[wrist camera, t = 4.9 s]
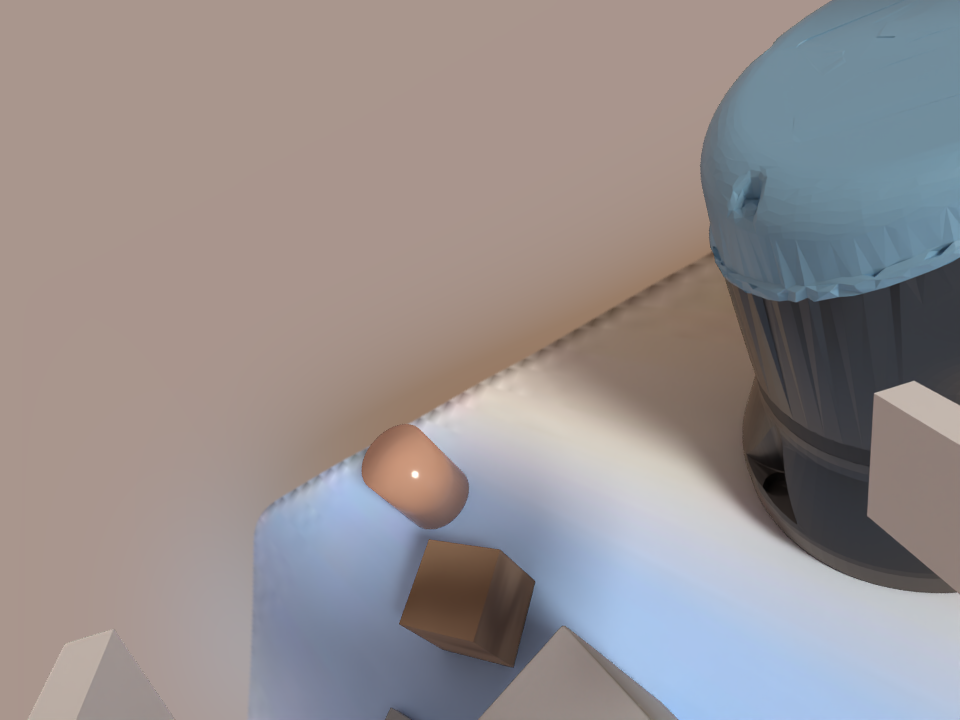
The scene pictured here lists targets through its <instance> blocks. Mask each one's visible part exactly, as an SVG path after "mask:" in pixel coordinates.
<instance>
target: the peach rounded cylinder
mask: <svg viewBox="0 0 960 720" xmlns="http://www.w3.org/2000/svg"><path fill="white" fill-rule="evenodd" d="M362 477H363V480H364V482H365V483H366V485H367V486H368V487H369V488H371V489H372V490H373V491H375V492H376V493H377V494H378V495H380V496H381V497H382V498H383V499H385V500H386V501H387V502H388V503H390V504H391V505H392V506H393V507H395V508H396V509H397V510H398V511H400V512H401V513H402V514H403V515H405V516H406V517H407V518H409V519H410V520H411V521H412V522H414V523H415V524H416V525H417V526H419V527H421V528H423V529H437V528H440V527H443V526H445V525H447V524H448V523H450V522H451V521H452V520H454V519H455V518H456V517H457V516H458V514H459V513H460V512H461V510H462V509H463V507H464V505H465V503H466V501H467V498H468V493H469V484H468V480H467V477H466V476H465V474H464V473H463V472H462V471H461V470H460V469H459V468H458V467H457V466H456V465H455V464H454V463H453V462H452V461H451V460H450V459H449V458H448V457H447V456H446V455H445V454H444V453H443V452H442V451H441V450H440V449H439V448H438V447H437V446H436V445H435V444H434V443H433V442H432V441H431V440H430V439H429V438H428V437H427V436H426V435H425V434H424V433H423V432H422V431H421V430H420V429H419V428H417V427H416V426H413V425H409V424H402V425H397V426H395V427H392V428H390V429H388V430H386V431H385V432H383V433H382V434H381V435H380V436H379V437H377V438H376V440H375V441H374V442H373V443H372V444H371V446H370V447H369V449H368V450H367V452H366V454H365V457H364V459H363V463H362Z"/></svg>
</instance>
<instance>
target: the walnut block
mask: <svg viewBox="0 0 960 720" xmlns="http://www.w3.org/2000/svg"><path fill="white" fill-rule="evenodd" d="M534 585H535V581H534V580H533V579H532V578H531V577H530V576H529V575H528V574H527V573H526V572H524V571H523V570H522V569H521V568H520V567H519V566H518V565H517V564H516V563H514V562H513V561H512V560H511V559H510V558H509V557H508V556H507V555H506V554H504V553H503V552H502V551H501V550H499V549H492V548H485V547H478V546H471V545H464V544H457V543H450V542H443V541H437V540H430V539H429V541H428V543H427V546H426V549H425V552H424V555H423V558H422V560H421V563H420V566H419V569H418V572H417V575H416V577H415V580H414V583H413V586H412V589H411V591H410V594H409V597H408V600H407V603H406V606H405V608H404V611H403V614H402V617H401V620H400V623H399V624H400V625H401V626H403V627H405V628H407V629H408V630H410V631H412V632H413V633H415V634H417V635H419V636H420V637H422V638H424V639H425V640H427V641H429V642H431V643H432V644H434V645H436V646H437V647H439V648H441V649H443V650H446V651H450V652H454V653H458V654H462V655H466V656H470V657H474V658H478V659H482V660H485V661H489V662H493V663H497V664H501V665H505V666H509V667H514V663H515V659H516V655H517V651H518V647H519V644H520V640H521V636H522V632H523V628H524V624H525V620H526V616H527V612H528V608H529V604H530V600H531V596H532V593H533V589H534Z"/></svg>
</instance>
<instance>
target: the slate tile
mask: <svg viewBox="0 0 960 720" xmlns="http://www.w3.org/2000/svg"><path fill="white" fill-rule="evenodd" d="M385 720H412V719H410V718H409V717H407V716H406V715H404V714H403V713H401V712H399V711H398V710H395V709H393V708H390V710H389V712H388V714H387V717H386V719H385Z"/></svg>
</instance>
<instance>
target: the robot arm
mask: <svg viewBox="0 0 960 720" xmlns="http://www.w3.org/2000/svg"><path fill="white" fill-rule="evenodd" d="M700 167H701V182H702V188H703V193H704V197H705V202H706V206H707V210H708V216H709V220H710V228H709V239H710V247H711V250H712V252H713V253H714V258H715V263H716V264H717V266H718V267H719V269H720V271H721V272H722V274H723V276H724V277H725V280H726V284H727V287H728V290H729V293H730V296H731V299H732V303H733V306H734V309H735V312H736V315H737V318H738V322H739V325H740V328H741V331H742V334H743V337H744V341H745V344H746V347H747V350H748V353H749V356H750V360H751V363H752V366H753V369H754V372H755V379H754V382H753V385H752V389H751V392H750V396H749V399H748V403H747V406H746V410H745V414H744V419H743V450H744V456H745V461H746V464H747V468H748V470H749V473H750V476H751V478H752V481H753V484H754V486H755V489H756V492H757V494H758V496H759V498H760V500H761V502H762V504H763V505H764V507H765V509H766V510H767V512H768V513H769V515H770V516H771V518H772V519H773V520H774V521H775V523H776V524H777V525H778V526H779V527H780V528H781V530H782V531H783V532H784V533H785V534H786V535H787V536H788V537H789V538H790V539H792V540H793V541H794V542H795V543H796V544H797V545H799V546H800V547H801V548H802V549H804V550H805V551H806V552H808V553H809V554H811V555H812V556H813V557H815V558H817V559H818V560H820V561H822V562H823V563H825V564H827V565H829V566H831V567H832V568H834V569H836V570H838V571H841V572H843V573H845V574H847V575H850V576H852V577H855V578H858V579H860V580H863V581H866V582H870V583H873V584H876V585H880V586H884V587H888V588H894V589H899V590H905V591H913V592H925V593H955V592H958V593H959V594H960V0H832V1H830V2H828V3H827V4H825V5H824V6H822V7H820V8H819V9H818V10H816V11H814V12H813V13H811V14H810V15H808V16H807V17H805V18H804V19H802V20H801V21H800V22H798V23H797V24H796V25H794V26H793V27H792V28H790V29H789V30H788V31H786V32H785V33H783V34H782V35H781V36H780V37H779V38H777V40H776V41H775V42H774V43H773V45H772V46H771V47H770V48H769V49H768V50H767V51H765V52H764V53H763V54H762V55H761V56H759V57H758V58H757V59H756V60H754V61H753V62H752V63H751V64H750V65H749V66H748V67H747V68H746V69H745V70H744V71H743V73H742V74H741V75H740V76H739V78H738V79H737V80H736V81H735V82H734V83H733V85H732V86H731V88H730V89H729V90H728V92H727V93H726V95H725V96H724V98H723V100H722V101H721V103H720V104H719V106H718V108H717V110H716V112H715V113H714V116H713V118H712V120H711V123H710V124H709V127H708V130H707V133H706V136H705V139H704V143H703V149H702V154H701V164H700ZM28 720H175V719H174V717H173V716H172V714H171V713H170V711H169V710H168V708H167V707H166V705H165V704H164V702H163V701H162V699H161V698H160V696H159V695H158V693H157V692H156V690H155V689H154V688H153V686H152V685H151V683H150V681H149V680H148V678H147V677H146V676H145V674H144V673H143V671H142V670H141V668H140V667H139V665H138V664H137V662H136V661H135V659H134V658H133V656H132V655H131V653H130V652H129V650H128V649H127V647H126V646H125V644H124V643H123V641H122V640H121V638H120V637H119V635H118V634H117V633H116V631H115V629H111V630H108V631H104V632H101V633H98V634H95V635H91V636H88V637H85V638H82V639H79V640H75V641H72V642H69V643H66V644H64V647H63V649H62V651H61V653H60V655H59V657H58V659H57V661H56V663H55V665H54V667H53V669H52V671H51V673H50V675H49V677H48V679H47V681H46V683H45V685H44V687H43V690H42V691H41V693H40V695H39V698H38V700H37V702H36V704H35V706H34V708H33V710H32V712H31V714H30V716H29V718H28Z"/></svg>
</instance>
